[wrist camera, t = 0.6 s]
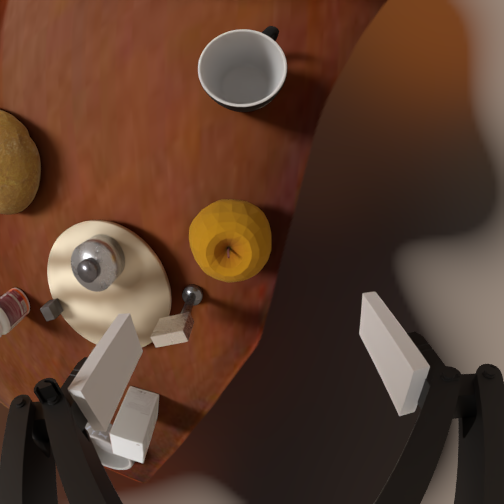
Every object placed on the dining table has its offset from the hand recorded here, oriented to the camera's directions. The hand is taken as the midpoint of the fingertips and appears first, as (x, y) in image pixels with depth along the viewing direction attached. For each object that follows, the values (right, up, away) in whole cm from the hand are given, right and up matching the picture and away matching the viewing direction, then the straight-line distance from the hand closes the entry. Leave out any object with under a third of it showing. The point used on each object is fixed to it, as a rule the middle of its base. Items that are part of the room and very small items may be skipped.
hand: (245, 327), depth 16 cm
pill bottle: (-46, -6, +30) cm, 55 cm away
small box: (-22, -26, +37) cm, 51 cm away
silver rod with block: (-9, -2, +29) cm, 30 cm away
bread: (-48, +22, +21) cm, 57 cm away
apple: (-2, +8, +25) cm, 27 cm away
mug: (0, +27, +19) cm, 33 cm away
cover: (-21, +3, +24) cm, 32 cm away
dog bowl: (-37, -44, +44) cm, 73 cm away
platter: (-23, -2, +27) cm, 35 cm away
